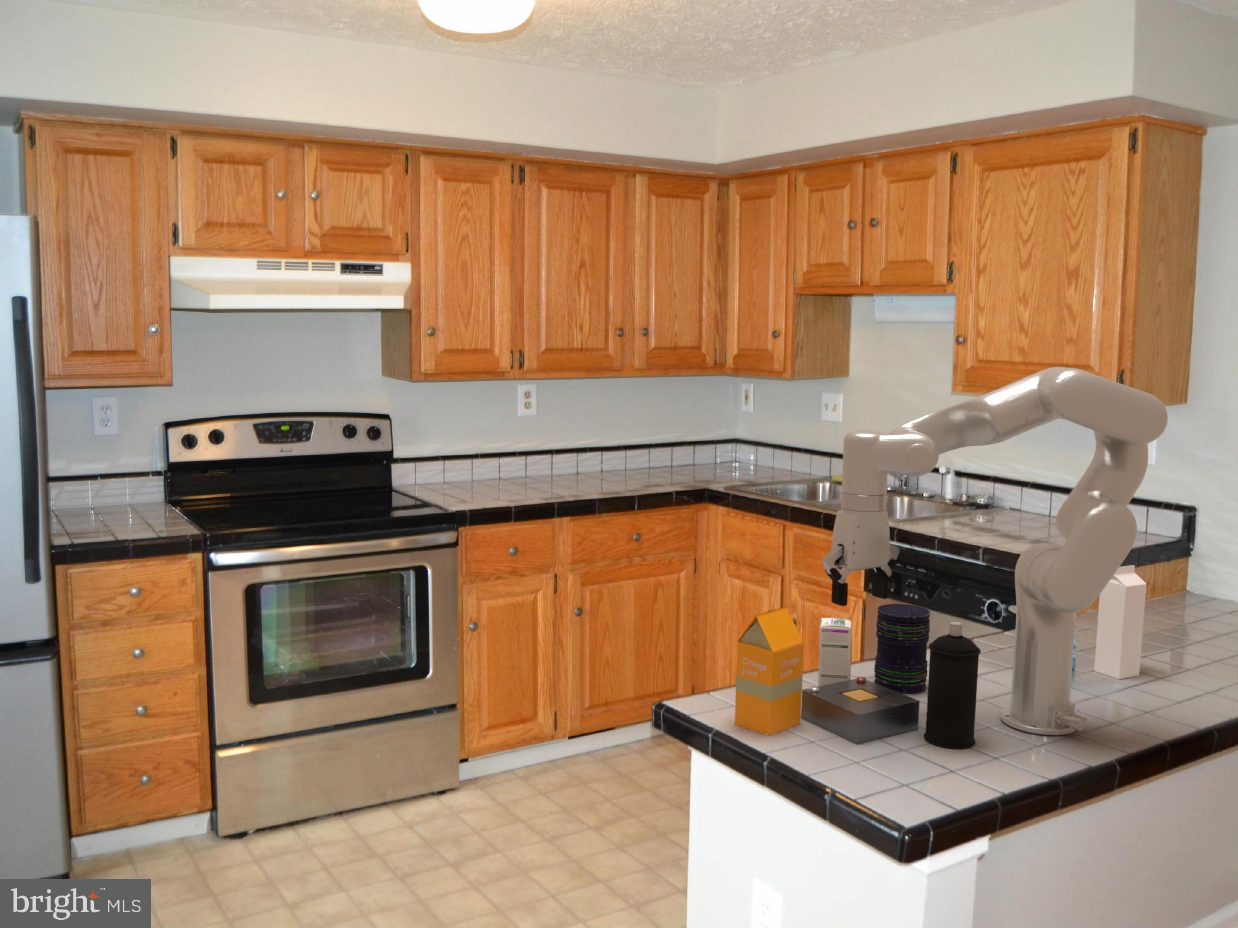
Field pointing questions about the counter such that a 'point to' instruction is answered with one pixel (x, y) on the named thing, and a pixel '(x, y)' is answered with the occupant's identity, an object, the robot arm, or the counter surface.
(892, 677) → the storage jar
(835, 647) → the syrup box
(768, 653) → the orange juice
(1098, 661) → the milk
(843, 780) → the counter surface
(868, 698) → the button
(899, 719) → the breaker box
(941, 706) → the aerosol can
